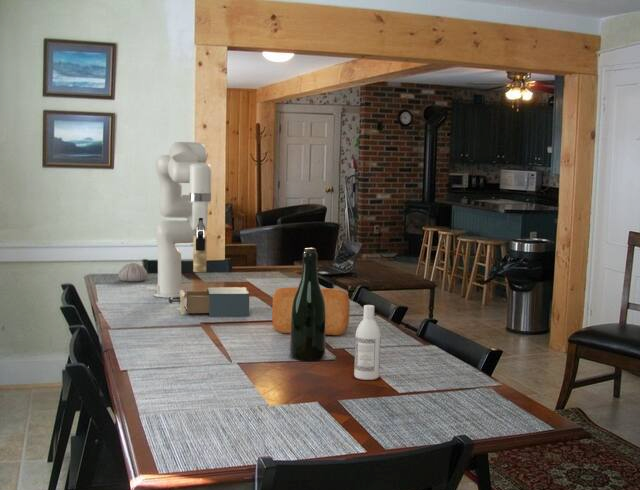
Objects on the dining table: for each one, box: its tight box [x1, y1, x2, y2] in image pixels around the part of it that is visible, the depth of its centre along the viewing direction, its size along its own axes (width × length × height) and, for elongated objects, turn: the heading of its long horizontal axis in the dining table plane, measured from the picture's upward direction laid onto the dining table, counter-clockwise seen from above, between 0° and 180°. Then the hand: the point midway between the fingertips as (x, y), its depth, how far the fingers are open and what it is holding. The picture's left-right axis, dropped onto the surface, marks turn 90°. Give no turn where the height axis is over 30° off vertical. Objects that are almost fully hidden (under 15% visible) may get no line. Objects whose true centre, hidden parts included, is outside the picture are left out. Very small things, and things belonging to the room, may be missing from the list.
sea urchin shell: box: [117, 262, 149, 283], centre depth 372 cm, size 13×14×8 cm
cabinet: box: [206, 286, 250, 318], centre depth 303 cm, size 15×15×9 cm
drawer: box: [168, 289, 209, 315], centre depth 300 cm, size 18×13×7 cm
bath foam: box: [353, 304, 382, 381], centre depth 219 cm, size 7×7×20 cm
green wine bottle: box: [289, 247, 326, 362], centre depth 238 cm, size 10×10×33 cm
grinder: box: [192, 234, 208, 273], centre depth 287 cm, size 5×5×13 cm
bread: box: [271, 286, 351, 336], centre depth 277 cm, size 16×26×17 cm
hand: (199, 248), depth 286 cm, fingers closed on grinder, 4 cm apart
